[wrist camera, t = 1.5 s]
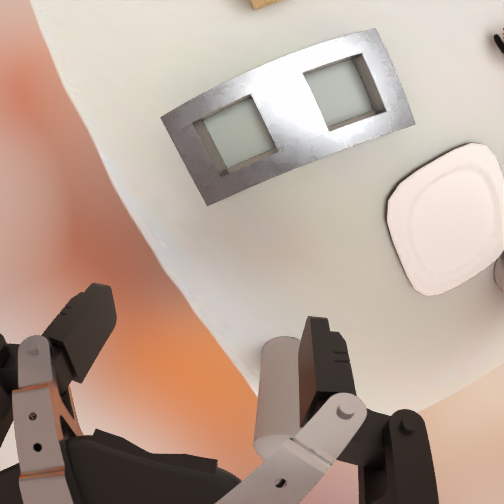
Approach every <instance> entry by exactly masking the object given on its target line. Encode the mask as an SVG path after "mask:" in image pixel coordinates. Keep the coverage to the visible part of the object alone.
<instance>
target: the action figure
mask: <svg viewBox="0 0 504 504" xmlns="http://www.w3.org/2000/svg"><path fill="white" fill-rule="evenodd" d="M503 30H504V28H503ZM503 35H504V33H503ZM494 38H495V41H496V43H497V44H498V46H499V47H500V49H501V51H502V52H503V53H504V43H503V42H502V40H501V38H500V37H499V36H498V35H497V34H496V35H495V36H494ZM503 38H504V37H503Z"/></svg>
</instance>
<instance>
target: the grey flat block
mask: <svg viewBox="0 0 504 504" xmlns="http://www.w3.org/2000/svg"><path fill="white" fill-rule="evenodd" d="M349 59H352V60H353V62H354V64H355V66H356V68H357V70H358V73H359V75H360V77H361V79H362V82H363V84H364V86H365V88H366V91H367V93H368V96H369V98H370V100H371V103H372V105H373V108H374V111H371V112H368V113H365V114H363V115H360V116H357V117H354V118H351V119H348V120H345V121H343V122H340V123H337V124H334V125H332V126H329V127H327V126H326V123H325V121H324V119H323V117H322V114H321V112H320V110H319V108H318V105H317V103H316V101H315V99H314V97H313V94H312V92H311V90H310V88H309V86H308V84H307V82H306V80H305V78H304V76H303V75H305V74H308V73H310V72H313V71H316V70H319V69H322V68H325V67H327V66H330V65H333V64H337V63H340V62H343V61H346V60H349ZM251 96H252V98H253V100H254V102H255V104H256V106H257V108H258V110H259V112H260V114H261V116H262V118H263V120H264V122H265V124H266V126H267V128H268V130H269V133H270V135H271V137H272V139H273V141H274V143H275V145H276V148H274V149H272V150H269V151H267V152H265V153H262V154H260V155H258V156H255V157H253V158H251V159H249V160H246V161H244V162H242V163H240V164H237V165H235V166H233V167H231V168H229V169H227V167H226V165H225V163H224V161H223V160H222V158H221V156H220V154H219V152H218V150H217V148H216V146H215V144H214V142H213V140H212V138H211V136H210V134H209V132H208V130H207V128H206V126H205V124H204V122H203V121H202V120H204V119H206V118H208V117H210V116H212V115H213V114H215V113H217V112H219V111H222V110H224V109H226V108H228V107H230V106H232V105H234V104H236V103H238V102H240V101H242V100H245V99H247V98H249V97H251ZM160 118H161V120H162V122H163V123H164V125H165V127H166V129H167V131H168V133H169V135H170V137H171V139H172V141H173V143H174V144H175V146H176V148H177V150H178V152H179V154H180V156H181V158H182V160H183V162H184V163H185V165H186V167H187V169H188V171H189V173H190V175H191V177H192V178H193V180H194V182H195V184H196V186H197V188H198V190H199V192H200V193H201V195H202V197H203V199H204V201H205V203H206V205H207V206H209V205H211V204H213V203H215V202H218V201H220V200H222V199H224V198H227V197H229V196H231V195H233V194H236V193H238V192H240V191H242V190H245V189H247V188H249V187H252V186H254V185H256V184H259V183H261V182H263V181H266V180H268V179H270V178H273V177H275V176H278V175H280V174H283V173H285V172H287V171H290V170H292V169H295V168H297V167H300V166H302V165H305V164H307V163H310V162H312V161H315V160H317V159H320V158H323V157H325V156H328V155H330V154H333V153H336V152H338V151H341V150H344V149H346V148H349V147H352V146H355V145H357V144H360V143H363V142H366V141H368V140H371V139H374V138H377V137H380V136H383V135H385V134H388V133H391V132H394V131H397V130H400V129H403V128H406V127H409V126H412V125H415V121H414V118H413V115H412V112H411V109H410V106H409V104H408V101H407V98H406V95H405V93H404V90H403V88H402V85H401V83H400V80H399V78H398V75H397V73H396V70H395V68H394V66H393V63H392V61H391V59H390V57H389V54H388V52H387V50H386V48H385V46H384V44H383V42H382V40H381V38H380V36H379V34H378V32H377V30H376V28H373V29H369V30H365V31H361V32H358V33H354V34H350V35H347V36H343V37H340V38H336V39H333V40H330V41H327V42H324V43H320V44H317V45H314V46H312V47H309V48H306V49H303V50H300V51H297V52H295V53H292V54H289V55H287V56H284V57H282V58H279V59H276V60H274V61H272V62H269V63H267V64H264V65H262V66H260V67H257V68H255V69H253V70H250V71H248V72H246V73H244V74H242V75H239V76H237V77H235V78H233V79H231V80H229V81H227V82H225V83H223V84H220V85H218V86H216V87H214V88H213V89H211V90H209V91H207V92H205V93H203V94H201V95H199V96H197V97H195V98H193V99H192V100H190V101H188V102H186V103H184V104H183V105H181V106H179V107H177V108H176V109H174V110H172V111H170V112H169V113H167V114H165V115H164V116H162V117H160Z"/></svg>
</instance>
